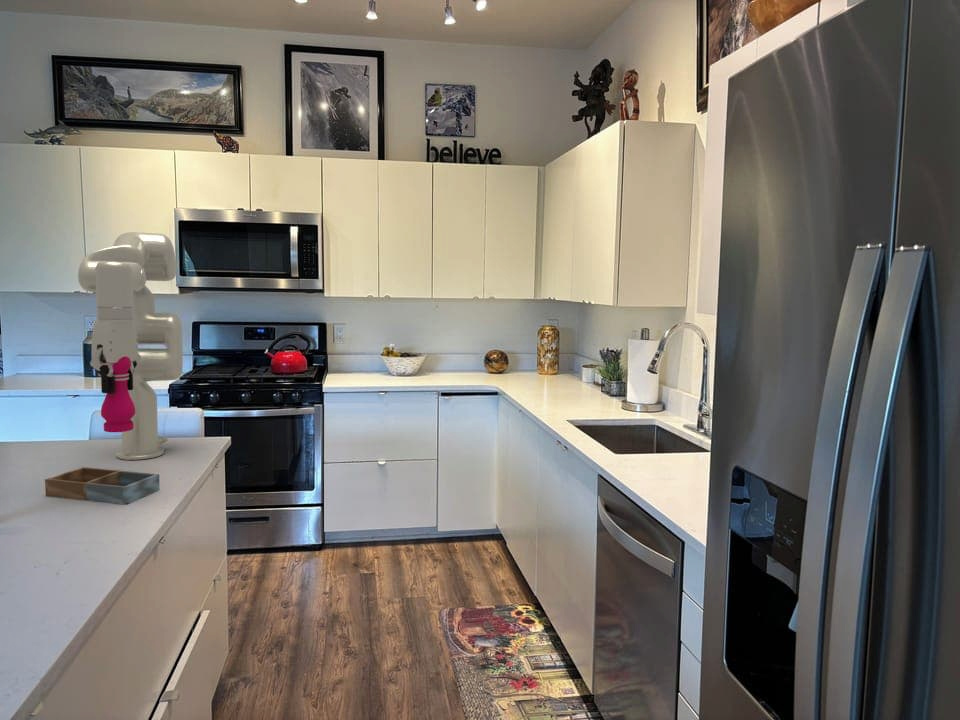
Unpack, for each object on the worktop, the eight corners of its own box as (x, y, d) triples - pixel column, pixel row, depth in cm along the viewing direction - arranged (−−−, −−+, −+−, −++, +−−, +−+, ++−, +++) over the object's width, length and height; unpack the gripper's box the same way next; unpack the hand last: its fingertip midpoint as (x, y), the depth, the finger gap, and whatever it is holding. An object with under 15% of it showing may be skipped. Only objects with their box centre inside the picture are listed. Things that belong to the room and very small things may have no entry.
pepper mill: (120, 434, 154) (118, 348, 152) (94, 431, 156) (91, 346, 154) (142, 427, 161) (140, 345, 159) (117, 425, 163) (114, 344, 161)
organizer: (83, 482, 169) (82, 467, 169) (159, 490, 165) (159, 474, 164) (45, 495, 158) (44, 479, 158) (126, 504, 154) (125, 487, 153)
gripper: (128, 313, 165) (130, 385, 167) (72, 315, 148) (75, 396, 150) (154, 314, 163) (156, 387, 165) (100, 316, 147) (103, 398, 149)
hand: (117, 390), depth 158 cm, fingers closed on pepper mill, 5 cm apart
